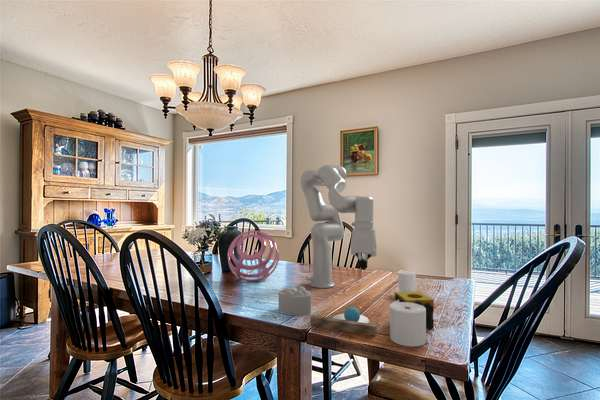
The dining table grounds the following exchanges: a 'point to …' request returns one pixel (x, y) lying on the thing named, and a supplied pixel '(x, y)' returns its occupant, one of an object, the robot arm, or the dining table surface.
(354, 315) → the ball
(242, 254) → the spiral basket
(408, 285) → the white cup
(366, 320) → the disc
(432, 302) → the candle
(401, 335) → the toilet tissue
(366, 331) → the stopper rail
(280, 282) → the dining table surface
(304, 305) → the lumpy-topped squat cylinder
